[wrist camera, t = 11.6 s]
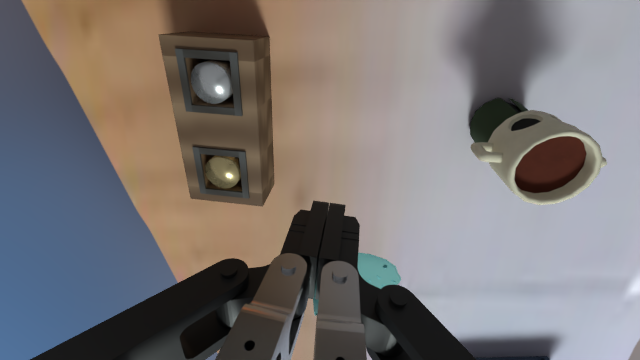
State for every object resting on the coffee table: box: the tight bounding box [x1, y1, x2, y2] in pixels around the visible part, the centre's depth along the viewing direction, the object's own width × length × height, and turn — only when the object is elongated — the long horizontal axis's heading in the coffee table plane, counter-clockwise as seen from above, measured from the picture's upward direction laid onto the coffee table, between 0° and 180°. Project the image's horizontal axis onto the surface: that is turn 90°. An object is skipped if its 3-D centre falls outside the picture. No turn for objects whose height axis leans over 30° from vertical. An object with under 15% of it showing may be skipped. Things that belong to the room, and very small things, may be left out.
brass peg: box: [205, 155, 241, 188], centre depth 40 cm, size 4×4×6 cm
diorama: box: [313, 253, 401, 315], centre depth 49 cm, size 12×20×9 cm, turn 91°
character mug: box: [470, 98, 607, 205], centre depth 31 cm, size 11×7×13 cm, turn 90°
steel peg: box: [191, 59, 233, 104], centre depth 35 cm, size 4×4×6 cm
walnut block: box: [159, 32, 274, 206], centre depth 38 cm, size 20×10×6 cm, turn 177°
